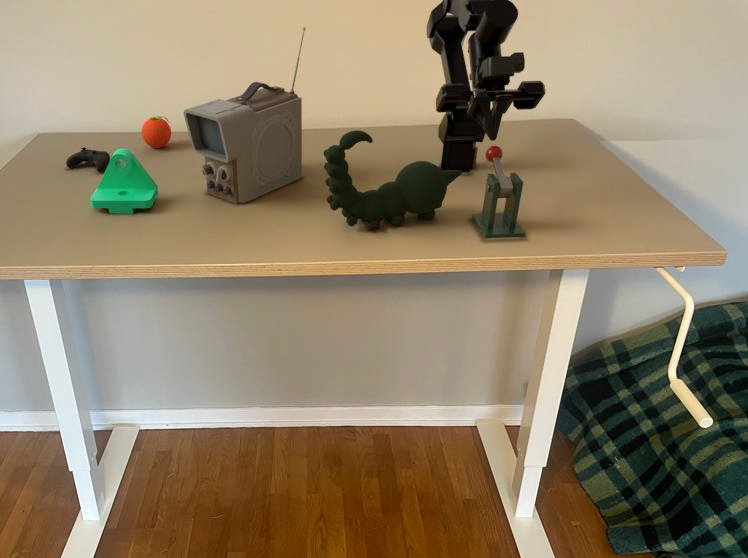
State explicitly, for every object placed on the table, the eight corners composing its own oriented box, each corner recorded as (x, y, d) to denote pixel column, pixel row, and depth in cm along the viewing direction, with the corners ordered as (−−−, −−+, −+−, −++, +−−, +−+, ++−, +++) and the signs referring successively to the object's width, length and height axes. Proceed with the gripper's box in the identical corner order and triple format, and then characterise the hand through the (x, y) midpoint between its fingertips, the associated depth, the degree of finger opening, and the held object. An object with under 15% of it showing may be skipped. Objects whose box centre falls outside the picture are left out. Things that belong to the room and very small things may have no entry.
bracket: (471, 219, 137) (478, 169, 131) (508, 218, 137) (517, 167, 131) (484, 241, 130) (492, 188, 124) (523, 239, 130) (533, 186, 124)
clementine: (160, 139, 179) (157, 109, 175) (181, 144, 175) (178, 114, 171) (137, 148, 173) (133, 118, 169) (158, 154, 170) (155, 123, 166)
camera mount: (91, 213, 144) (81, 162, 138) (101, 197, 150) (92, 148, 144) (151, 213, 143) (144, 162, 137) (158, 197, 149) (152, 148, 143)
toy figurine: (335, 246, 133) (469, 224, 134) (328, 145, 122) (474, 121, 123) (325, 224, 140) (452, 203, 142) (318, 127, 129) (455, 105, 131)
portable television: (189, 197, 149) (174, 40, 131) (269, 164, 163) (265, 18, 145) (230, 213, 142) (220, 49, 125) (310, 177, 156) (311, 25, 139)
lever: (482, 155, 135) (486, 142, 133) (498, 154, 135) (502, 141, 133) (494, 199, 129) (499, 187, 127) (511, 199, 129) (516, 186, 127)
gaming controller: (63, 165, 163) (70, 140, 164) (75, 175, 168) (83, 151, 169) (100, 170, 160) (107, 144, 160) (112, 180, 165) (119, 156, 166)
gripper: (446, 36, 128) (453, 119, 125) (552, 33, 128) (562, 115, 125) (432, 72, 139) (438, 149, 136) (530, 69, 139) (538, 145, 136)
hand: (493, 139), depth 133 cm, fingers closed
